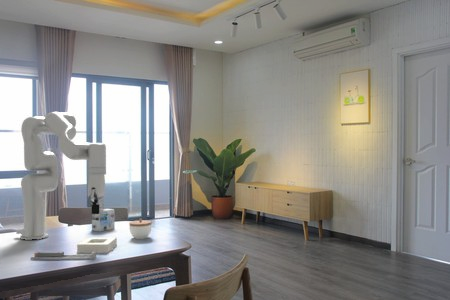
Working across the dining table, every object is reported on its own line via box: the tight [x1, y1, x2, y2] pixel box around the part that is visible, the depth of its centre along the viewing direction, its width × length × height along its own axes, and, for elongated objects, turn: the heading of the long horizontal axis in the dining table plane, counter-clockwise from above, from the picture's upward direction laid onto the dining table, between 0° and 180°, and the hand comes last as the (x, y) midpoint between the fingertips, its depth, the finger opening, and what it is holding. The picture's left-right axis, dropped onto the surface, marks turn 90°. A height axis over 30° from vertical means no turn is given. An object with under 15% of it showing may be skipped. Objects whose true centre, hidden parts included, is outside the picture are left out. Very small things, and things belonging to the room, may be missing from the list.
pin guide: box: [30, 251, 97, 261], centre depth 161 cm, size 25×4×2 cm, turn 89°
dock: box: [76, 237, 118, 254], centre depth 176 cm, size 13×13×4 cm
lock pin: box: [33, 251, 65, 257], centre depth 161 cm, size 11×2×2 cm, turn 89°
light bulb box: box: [91, 208, 116, 232], centre depth 219 cm, size 11×7×11 cm, turn 148°
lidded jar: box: [129, 218, 152, 240], centre depth 198 cm, size 11×11×9 cm
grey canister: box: [91, 196, 104, 218], centre depth 176 cm, size 4×4×9 cm
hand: (97, 212), depth 176 cm, fingers closed on grey canister, 4 cm apart
